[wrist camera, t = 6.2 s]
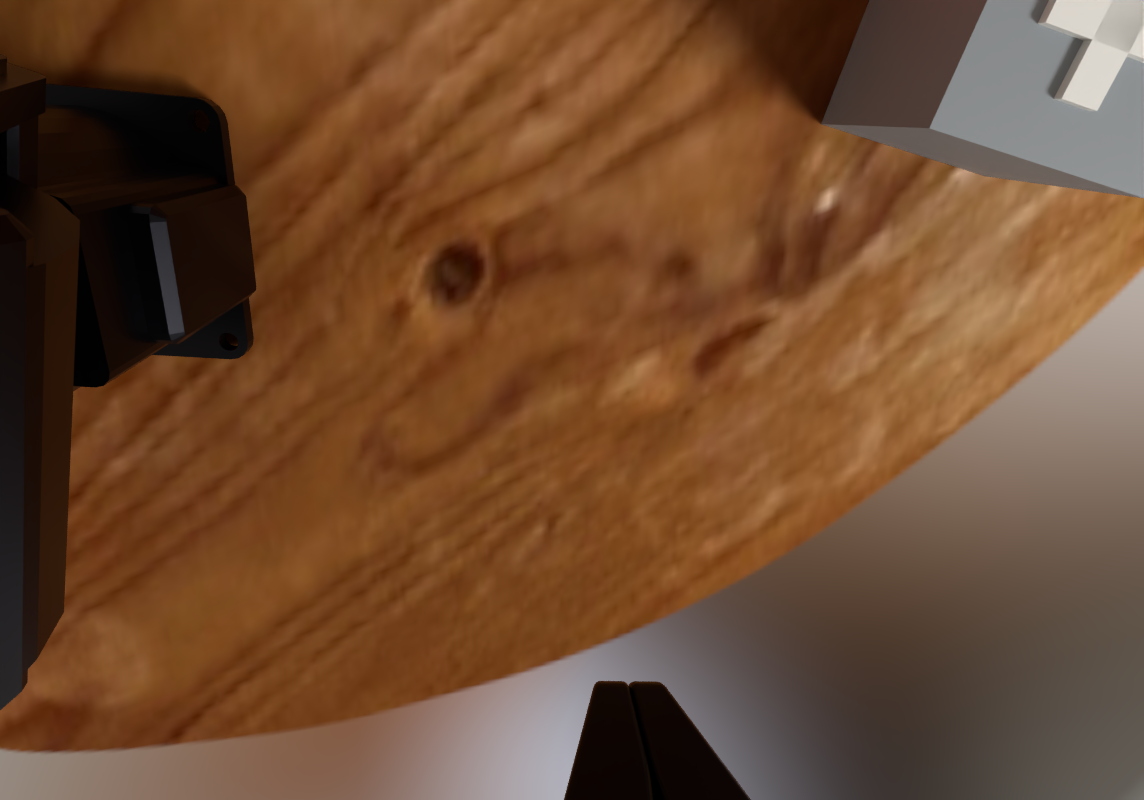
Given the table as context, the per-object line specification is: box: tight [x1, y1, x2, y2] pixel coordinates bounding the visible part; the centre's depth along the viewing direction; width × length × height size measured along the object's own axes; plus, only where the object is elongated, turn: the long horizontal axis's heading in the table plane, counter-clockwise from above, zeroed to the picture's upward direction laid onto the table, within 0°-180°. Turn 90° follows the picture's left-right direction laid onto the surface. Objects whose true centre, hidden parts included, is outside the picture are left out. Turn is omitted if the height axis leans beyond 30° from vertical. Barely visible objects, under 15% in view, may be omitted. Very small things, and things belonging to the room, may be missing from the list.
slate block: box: [821, 0, 1144, 198], centre depth 14 cm, size 5×5×5 cm
